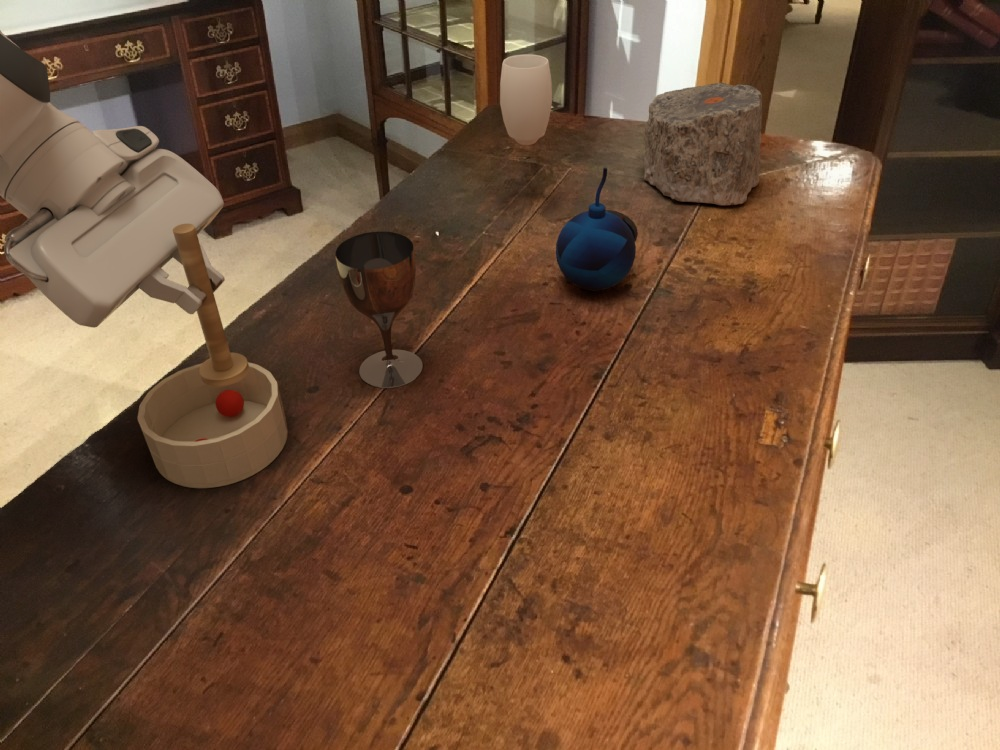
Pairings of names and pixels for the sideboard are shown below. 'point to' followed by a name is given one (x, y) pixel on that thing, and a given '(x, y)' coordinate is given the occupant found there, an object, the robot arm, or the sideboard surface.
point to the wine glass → (381, 298)
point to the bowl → (212, 428)
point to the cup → (526, 97)
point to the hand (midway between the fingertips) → (209, 296)
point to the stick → (208, 314)
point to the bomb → (597, 246)
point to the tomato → (229, 403)
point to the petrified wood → (705, 143)
